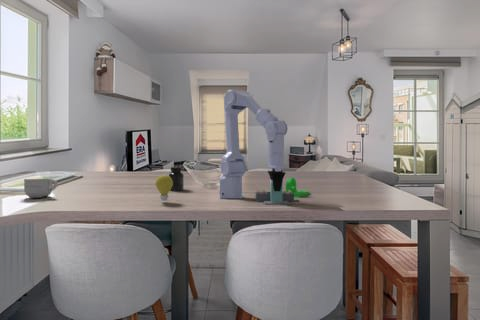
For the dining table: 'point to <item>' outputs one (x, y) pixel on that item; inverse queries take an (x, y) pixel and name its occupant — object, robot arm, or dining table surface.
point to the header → (266, 196)
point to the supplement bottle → (177, 179)
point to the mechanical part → (294, 188)
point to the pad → (275, 203)
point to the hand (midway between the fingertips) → (276, 190)
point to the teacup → (39, 187)
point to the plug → (275, 194)
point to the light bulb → (164, 186)
